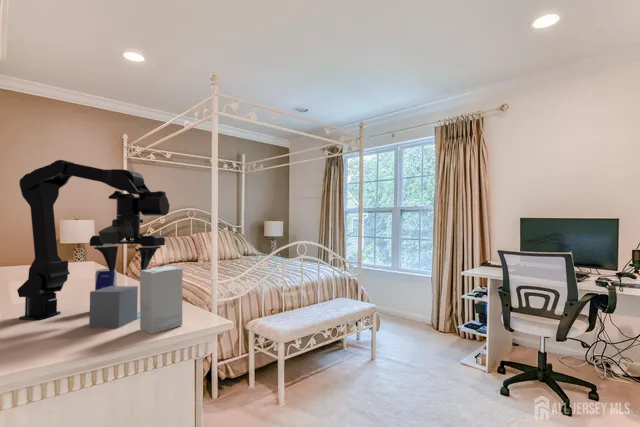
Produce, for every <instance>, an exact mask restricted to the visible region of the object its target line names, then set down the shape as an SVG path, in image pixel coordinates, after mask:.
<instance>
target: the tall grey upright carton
mask: <svg viewBox="0 0 640 427" xmlns="http://www.w3.org/2000/svg"><path fill="white" fill-rule="evenodd" d="M139 313H140V319H139V328H140V329H139V330H141V331H143V332H146V333H147V334H150V335H153V334H156V333H160V332H164V331H168V330H170V329H174V328H176V327H181V326H183V268H181V267H177V266H173V265H168V266H167V265H166V266H163V267H155V268H150V269H149V268H146V270H141V269H140V271H139Z"/></svg>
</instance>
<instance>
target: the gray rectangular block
mask: <svg viewBox="0 0 640 427" xmlns="http://www.w3.org/2000/svg"><path fill="white" fill-rule="evenodd" d="M138 288H139V287H138V285H137V286H136V285H131V286H130V285H117V286H109V287H105V288H102V289H98V290H95V289H94V290H91V291H89V323H88V325H89V328H108V329H109V328H110V329H111V328H113V329H114V328H115V329H117V328H118V329H119V328H122V327H124V326H126V325H127V324H129V323H132V322H134V321H136V320H137V312H138V296H139V294H138V292H139V291H138V290H139V289H138Z"/></svg>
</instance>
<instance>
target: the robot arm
mask: <svg viewBox="0 0 640 427" xmlns="http://www.w3.org/2000/svg"><path fill="white" fill-rule="evenodd" d="M72 177H76V178H80V179H85V180H91V181H95V182H99V183H102V184H105V185H106V186H108V187H112V188H113V189H116V190H115V191H114V192H113V193H111V194H110V195H109V196H108V197H107V198H108V199H109V200H116V218H115V219H114V218H113V219H112V221H111V225H110V226H107V227H105V228H103V229H100V230H99V231H98V234H99V235H92V236H91V237H90V239H89V246H90V247H93V249H94V250H97V251H99V252H100V253H101V255H102V256H103V258H104V260H105V263H106V265H107V269H109V270H110V272H113V271H114V269H116V264H117V258H118V256H117V255H118V249H119V246H118V245H140V246H141V247H138V250H139V252H140V270H147V269H148V266H149V264H150V263H151V261H152V258H153V257H154V255H155V253H156V252H157V250H158V249H160V248H161V246H165V245H166V238H165V237H164V235H157V234H155V235H144V234H143V233H140V232H141V230H140V229H141V224H143V223H144V220H143V219H141V215H143V216H149V217H151V216H153V217H154V216H155V217H156V216H157V217H158V216H159V217H160V216H161V217H162V216H167V215H168V214H169V211H170V203H169V200H168V197H167V193H166V191H162V190H160V191H159V190H158V191H151V190H150V189H149V187H148V186H147V185H146V183H145V178H144V176H143V175H142V174H140V173H139V172H136V171H135V172H134V171H131V170H127V169H124V168H123V169H121V168H118V169H115V168H112V169H102V168H99V167H93V166H88V165H85V164H79V163H75V162H72V161H68V160H65V159H64V160H63V159H58V160H55V161H53V162H52V163H50V164H48V165H44V166H42V167H39V168H36V169H34V170H32V171H31V172H28V173H25V175H23V176H22V177H21V178H20V179H19V185H18V186H19V188H20V192H21V195H22V197H23V199H24V200H25V201H26V203H27V205H29V208H30V217H31V218H30V219H31V230H32V240H33V251H34V259H33V261H32V263H31V265H30V267H29V268H28V277H27V280H26V281H25V282H24V283H23V284H22V285H20V287H18V288H17V290H16V291H17V294H18V297H19V298H25V303H24V315H22V316H19V318H18V319H20V320H43V319H46V318H49V317H53V316H56V315H59V314H61V313H62V312H61V311H60V310H59V311H58V298H57V292H61V291H62V289H63V287H64V284H65V283H66V282H67V281H68V275H70V271H69V261H68V259H67V260H66V259H65V260H62V259H61V257H60V256H59V254H58V243H57V233H56V220H55V210H54V205H55V203H56V201H57V200H58V198H59V193H60V189H61V188H63V187H64V186H66V185H67V184H68V182H69V180H70V179H71V178H72ZM122 191H123V192H127V193H123V192H122ZM135 195H137V196H135Z"/></svg>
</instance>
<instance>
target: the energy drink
mask: <svg viewBox="0 0 640 427" xmlns="http://www.w3.org/2000/svg"><path fill="white" fill-rule="evenodd" d="M117 274H118V272H117V269H116V268H115V269H114V271H113V272H110V270H109V268H103V269H102V268H101V269H96V271H95V276H94V277H95V280H94V282H95V283H94V291H95V290H98V289H102V288H105V287H109V286H118V285H117V283H118V282H117V279H118V278H117V277H118V276H117Z"/></svg>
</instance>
